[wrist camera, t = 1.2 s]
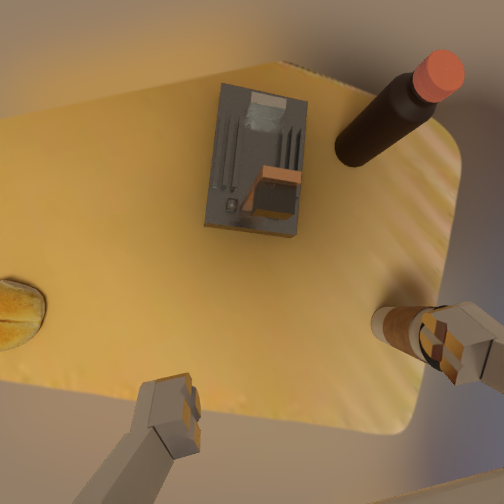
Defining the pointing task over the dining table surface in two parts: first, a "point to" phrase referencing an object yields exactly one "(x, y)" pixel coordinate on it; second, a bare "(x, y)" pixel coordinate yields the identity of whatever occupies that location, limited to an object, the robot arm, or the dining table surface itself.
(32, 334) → the bread roll
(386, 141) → the bottle
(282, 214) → the brown and black bar
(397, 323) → the coffee cup
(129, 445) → the robot arm
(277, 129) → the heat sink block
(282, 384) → the dining table surface
